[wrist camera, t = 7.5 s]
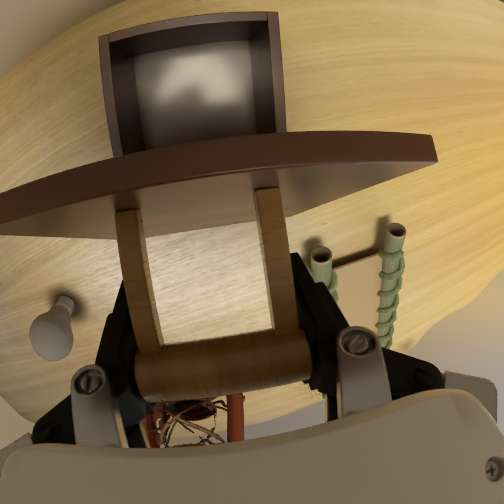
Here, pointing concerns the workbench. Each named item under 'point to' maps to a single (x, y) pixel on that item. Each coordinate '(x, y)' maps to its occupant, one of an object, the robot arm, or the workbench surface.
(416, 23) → the workbench surface
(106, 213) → the lid
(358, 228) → the workbench surface
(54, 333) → the light bulb
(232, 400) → the lantern
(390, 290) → the stretcher
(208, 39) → the chest
